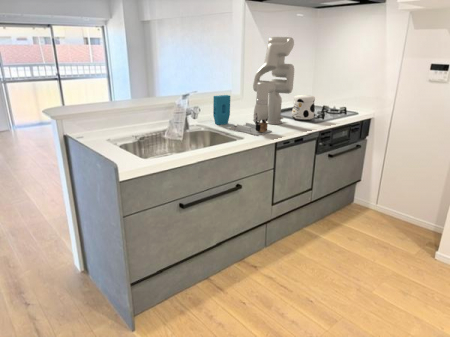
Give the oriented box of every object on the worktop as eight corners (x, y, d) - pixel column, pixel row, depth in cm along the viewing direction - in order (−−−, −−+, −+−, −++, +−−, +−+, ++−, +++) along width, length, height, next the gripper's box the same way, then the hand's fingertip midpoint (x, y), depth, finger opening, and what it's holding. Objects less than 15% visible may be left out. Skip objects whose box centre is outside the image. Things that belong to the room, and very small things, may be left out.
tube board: (245, 125, 238) (245, 121, 237) (271, 131, 222) (272, 127, 221) (229, 128, 228) (229, 124, 226) (256, 135, 212) (256, 130, 211)
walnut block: (261, 129, 222) (261, 122, 220) (267, 131, 219) (267, 123, 217) (256, 130, 219) (256, 123, 217) (262, 132, 215) (262, 124, 214)
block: (216, 125, 237) (217, 96, 230) (212, 124, 241) (213, 95, 234) (230, 123, 244) (231, 95, 237) (226, 122, 247) (226, 94, 240)
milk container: (287, 119, 263) (289, 96, 257) (297, 116, 275) (300, 94, 269) (306, 122, 252) (309, 98, 246) (317, 119, 265) (320, 96, 259)
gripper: (265, 100, 221) (264, 126, 227) (248, 102, 209) (247, 131, 216) (275, 101, 216) (273, 129, 222) (258, 104, 205) (256, 133, 211)
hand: (260, 129), depth 219 cm, fingers closed on walnut block, 4 cm apart
